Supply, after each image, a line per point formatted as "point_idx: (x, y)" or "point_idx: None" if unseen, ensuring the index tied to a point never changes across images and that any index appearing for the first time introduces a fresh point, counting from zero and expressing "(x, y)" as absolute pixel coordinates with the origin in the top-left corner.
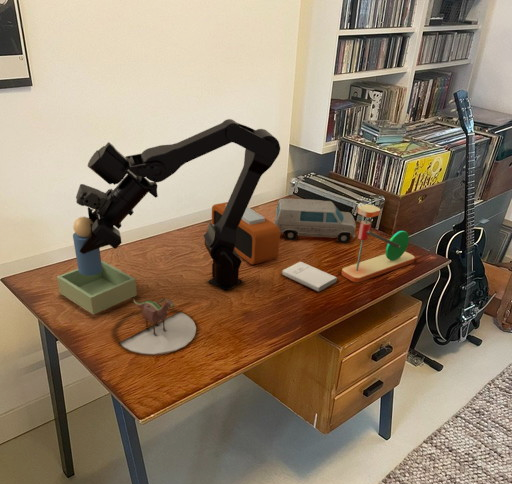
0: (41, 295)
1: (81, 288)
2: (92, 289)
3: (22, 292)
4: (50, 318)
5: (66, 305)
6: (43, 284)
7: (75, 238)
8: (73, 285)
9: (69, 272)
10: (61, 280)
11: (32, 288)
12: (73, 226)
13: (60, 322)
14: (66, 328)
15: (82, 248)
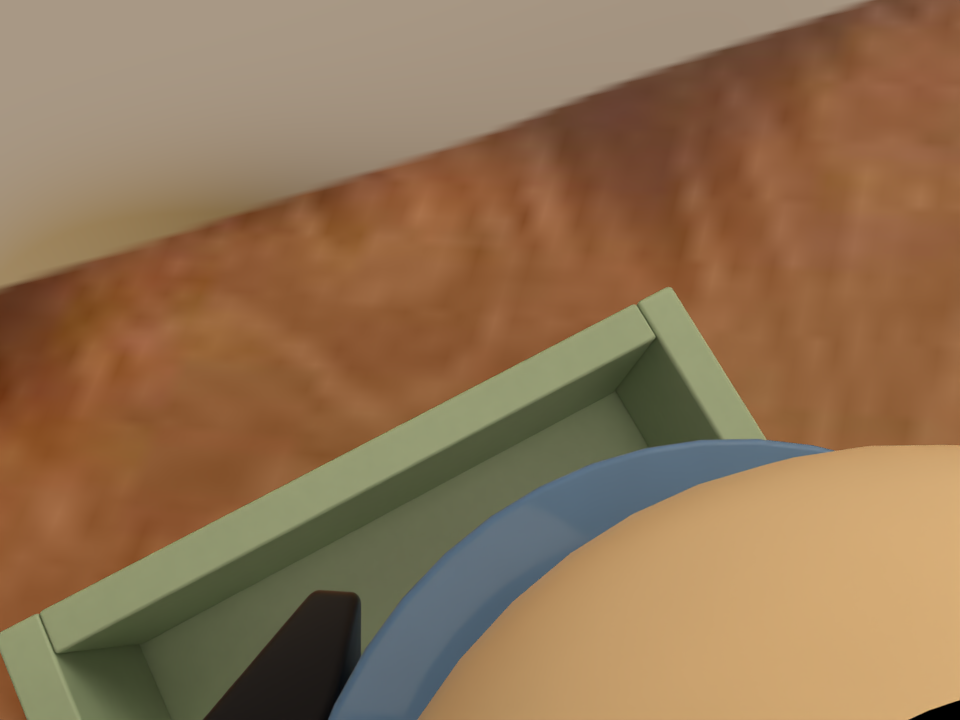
0: (675, 203)
1: None
2: None
3: (761, 64)
4: (252, 248)
5: (435, 398)
6: (877, 231)
7: (504, 508)
8: (384, 454)
9: (742, 438)
10: (582, 333)
11: (818, 141)
12: (895, 446)
13: (154, 323)
14: (34, 363)
15: (248, 679)
